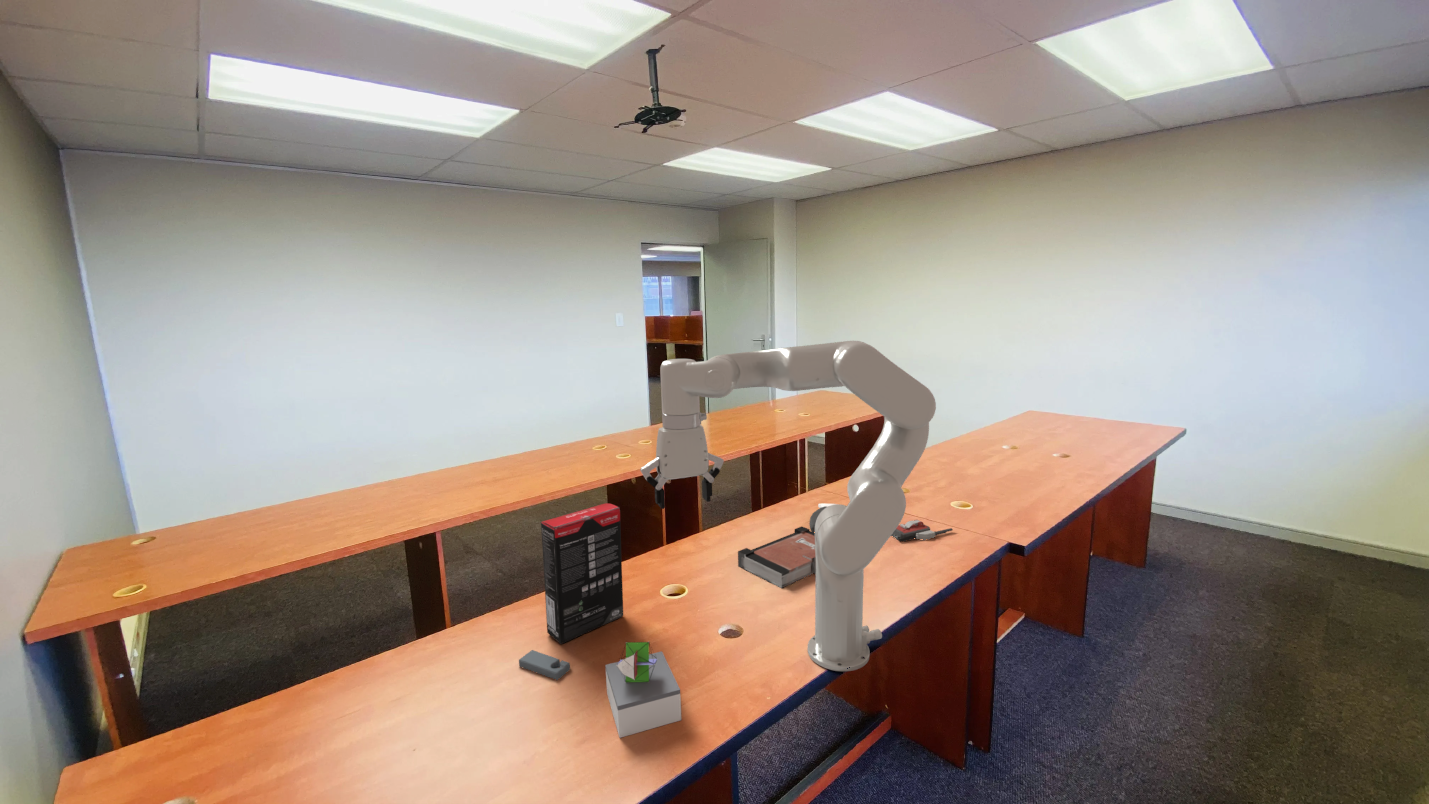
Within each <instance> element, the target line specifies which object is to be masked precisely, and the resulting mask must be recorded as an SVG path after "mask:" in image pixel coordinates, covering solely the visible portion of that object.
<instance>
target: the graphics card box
mask: <svg viewBox="0 0 1429 804" xmlns="http://www.w3.org/2000/svg"><path fill="white" fill-rule="evenodd" d="M540 529H541V531H540V532H541V545H542V546H541V547H542V562H543V576H544V577H543V578H544V595H545V596H544V598H545V613H546V618H545V619H546V631H547V634H548V635H549V636H551V637H552V638H553V639H554V640H555V641H556V642H557V643H559V644H560V645H563V644H564V643H567V642H569V641H571V640H574V639H575V638H578V637H580V636H583V635H584V634H586V633H589V632H592V631H594V630H596V629H598V628H600V627H602V626H604V625H607V624H609V623H612V622H614V621H616V620H617V619H620V618H622V617H623V616H624V597H623V596H624V594H623V593H624V592H623V591H624V590H623V566H622V565H623V564H622V563H623V562H622V538H621V537H622V535H621V534H622V533H621V531H622V530H621V510H620V506H618V505H615V504H612V503H607V502H606V503H601V504H598V505H595V506H592V507H588V508H585V509H581V510H577V511H575V512H570V513H568V514H567V513H566V514H563V515H560V516H557V517H553V518H550V519H546V520H543V521H541V522H540Z"/></svg>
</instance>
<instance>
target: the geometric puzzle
mask: <svg viewBox="0 0 1429 804" xmlns="http://www.w3.org/2000/svg"><path fill="white" fill-rule="evenodd" d="M623 649H625V656H624V657H623V655H624V650H622V652H621V654H620V655H621V656H620V658H619V660H618V662H619V663H617V665H616V666H617V667H618V668H619V669H620V671H621V672H622V674H623V675H624V677H625V676H626V680H625V683H626V682H649V680H650V679H649V669H650V668H651V667H650V668H649V665H653V666H654V665H655V664H656V661H657V657H655V656H656V655H655V656H654V657H655V658H656V659H649V654H651V655H652V654H653V653H654V654H655V653H656V652H654V649H653V647H652V646H651V644H650V641H639V642H638V641H632V642H630V641H629V642H625V644H624V647H623ZM652 651H653V653H652ZM650 652H651V653H650ZM652 658H653V656H652ZM654 667H655V666H654ZM654 667H653V668H654ZM652 672H653V670H652ZM622 674H621V675H622ZM651 675H652V673H651ZM650 678H651V676H650Z"/></svg>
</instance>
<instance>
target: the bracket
mask: <svg viewBox="0 0 1429 804" xmlns="http://www.w3.org/2000/svg"><path fill="white" fill-rule="evenodd" d="M518 664H519V666H520V667H519V668H522V667H523V669H524V670H527V669H528V670H527V671H530V670H531V671H530V672H533V671H534V672H533V673H536V672H537V673H536V674H538V675H541V674H542V676H544V675H545V676H544V677H547V678H549V677H550V678H549V679H552V678H553V679H552V680H555V679H556V680H555V681H558V679H559V678H560V679H561V678H562V677H564V675H565V674H567V673H568V672H569V671H570V670H571V667H570V666H571V664H570V662H568V661H565V660H562V659H561V660H560V659H559V658H557V657H554V656H552V655H548V654H546V653H542V652H540V651H536V650H534V649H532V650H530V651H528V652H527V653H526V654H525V655H523V656H521V658H519V659H518ZM566 672H567V673H566ZM560 679H559V680H560Z"/></svg>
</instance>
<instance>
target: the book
mask: <svg viewBox="0 0 1429 804" xmlns="http://www.w3.org/2000/svg"><path fill="white" fill-rule="evenodd" d="M737 564H738V565H737V567H739V568H741V570H744V571H745V572H748V573H750V574H752V575H754V576H756V577H758V578H760V579H762V580H764V581H765V582H768V583H769V584H772V585H773V586H775V585H776V587H777V588H778V589H779V588H780V589H781V590H782V589H785V588H786V587H788V586H790V585H792V584H795V583H797V582H799V581H801V580H804V579H805V578H807V577H809V576H811V574H812V575H816V557H815V533H814V532H812V531H811V530H810V528H807V527H804V526H799V527H797V528H794V532H793V533H790V534H788V535H786V536H783V537H780V538H778V539H776V540H772V541H770V542H768V543H765V544H762V545H760V546H758V547H755V548H752V549H750V548H748V547H745V548H743V549H740V550H738V551H737ZM813 573H814V574H813ZM808 575H809V576H808ZM806 576H807V577H806ZM804 577H805V578H804ZM798 580H799V581H798ZM796 581H797V582H796ZM794 582H795V583H794Z"/></svg>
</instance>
